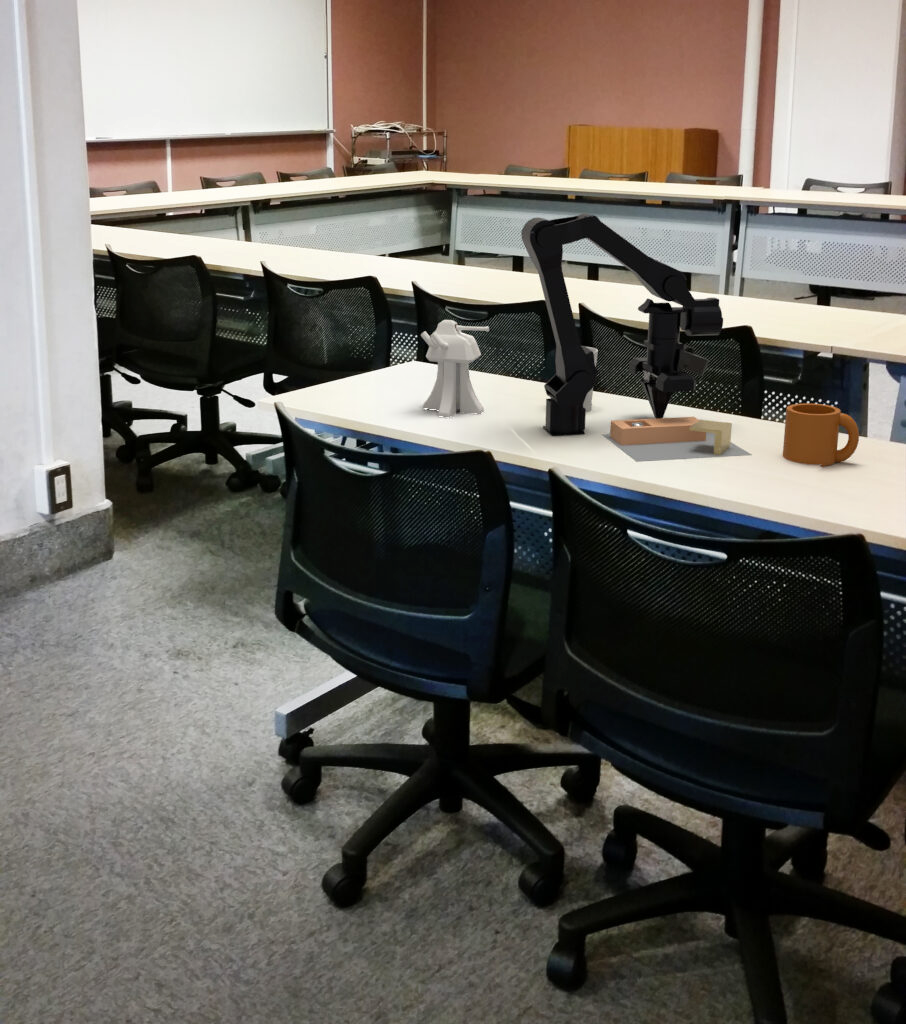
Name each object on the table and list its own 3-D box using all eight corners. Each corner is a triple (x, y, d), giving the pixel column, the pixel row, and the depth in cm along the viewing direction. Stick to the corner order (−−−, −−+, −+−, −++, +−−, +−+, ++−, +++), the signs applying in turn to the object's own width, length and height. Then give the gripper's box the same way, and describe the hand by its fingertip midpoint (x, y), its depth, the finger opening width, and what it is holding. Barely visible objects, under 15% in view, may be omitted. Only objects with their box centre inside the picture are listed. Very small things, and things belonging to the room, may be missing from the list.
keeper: (688, 451, 208) (689, 426, 207) (698, 443, 213) (700, 419, 212) (720, 455, 206) (722, 430, 204) (729, 447, 211) (731, 423, 209)
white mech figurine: (478, 420, 231) (479, 327, 225) (414, 415, 235) (413, 323, 229) (496, 407, 241) (497, 318, 236) (434, 402, 245) (434, 314, 240)
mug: (846, 473, 197) (851, 420, 194) (775, 462, 203) (778, 411, 201) (861, 459, 204) (866, 408, 201) (792, 450, 211) (796, 400, 208)
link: (621, 445, 212) (621, 428, 211) (610, 436, 217) (610, 420, 216) (705, 440, 215) (706, 424, 214) (692, 432, 220) (693, 416, 220)
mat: (636, 463, 202) (636, 461, 202) (601, 436, 219) (601, 434, 219) (751, 457, 206) (752, 454, 206) (708, 430, 223) (708, 428, 223)
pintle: (633, 441, 214) (634, 425, 213) (629, 438, 216) (630, 422, 215) (644, 440, 215) (644, 424, 214) (640, 438, 216) (640, 422, 215)
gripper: (725, 344, 212) (719, 429, 217) (685, 326, 230) (680, 406, 234) (666, 346, 210) (661, 432, 215) (630, 328, 227) (626, 408, 232)
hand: (658, 419), depth 224 cm, fingers closed
